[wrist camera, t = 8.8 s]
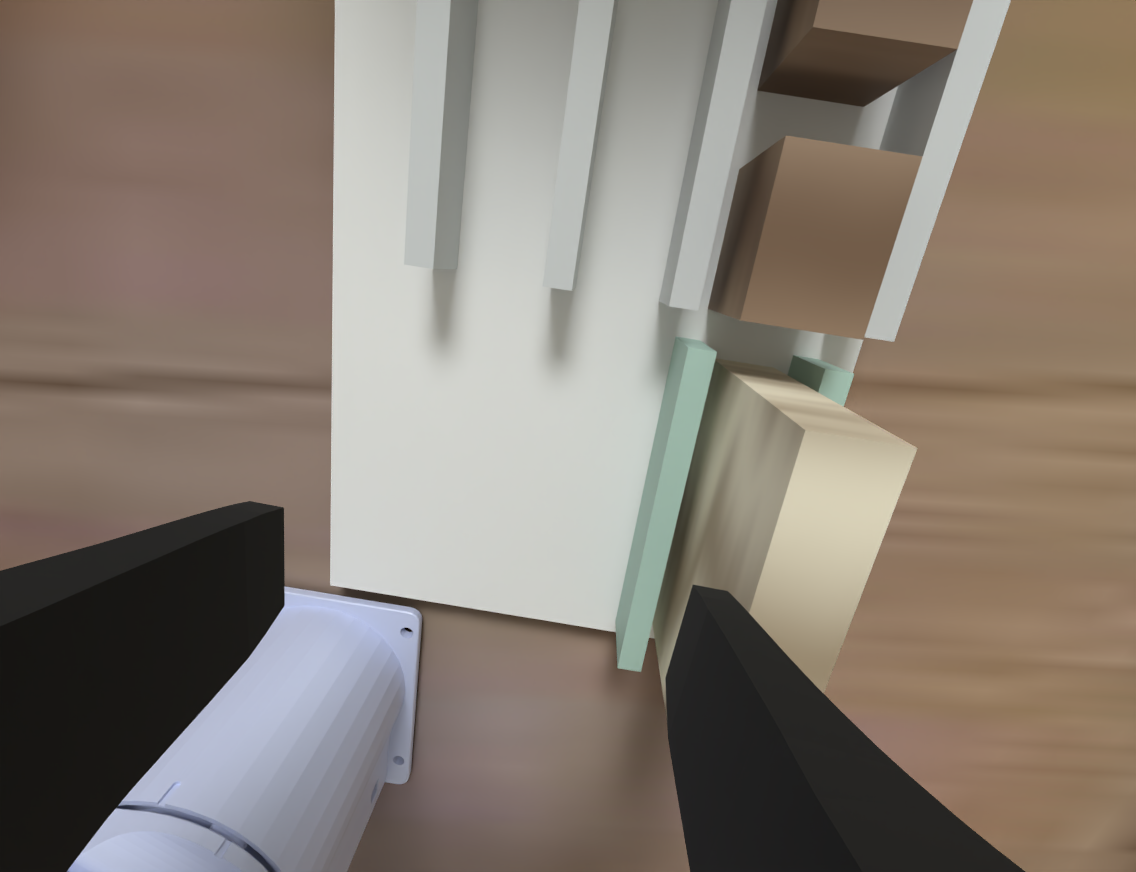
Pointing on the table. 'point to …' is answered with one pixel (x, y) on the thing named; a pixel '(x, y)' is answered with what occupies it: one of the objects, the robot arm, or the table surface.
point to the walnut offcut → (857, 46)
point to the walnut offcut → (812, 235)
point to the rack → (566, 282)
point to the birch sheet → (781, 513)
